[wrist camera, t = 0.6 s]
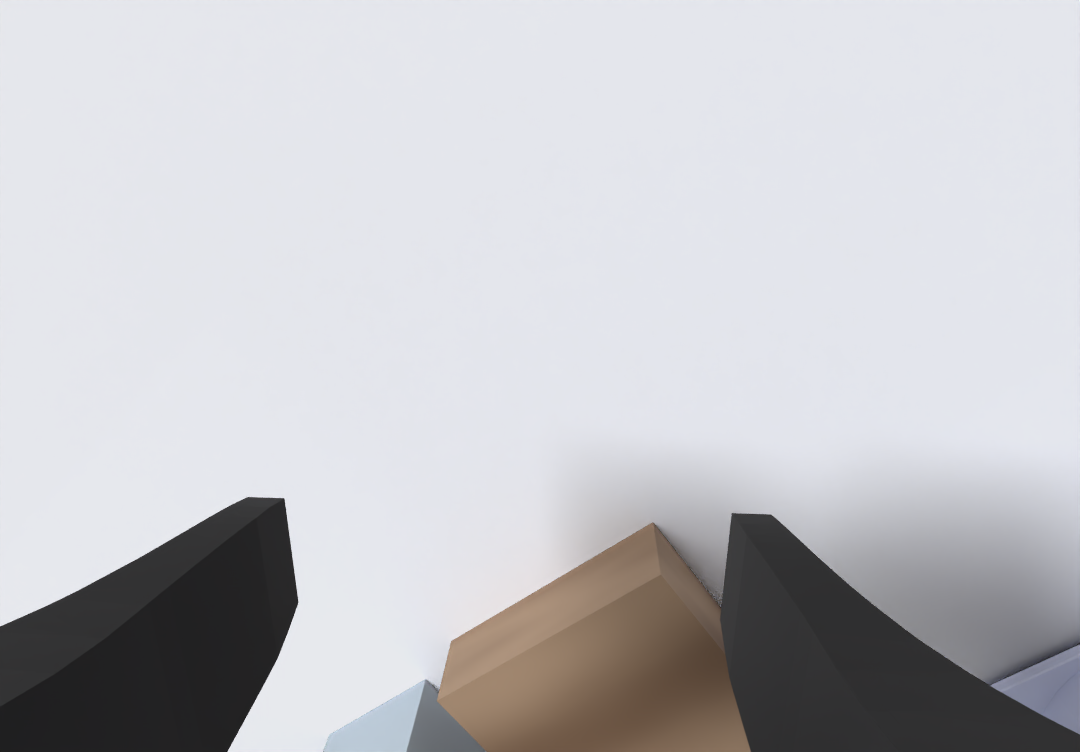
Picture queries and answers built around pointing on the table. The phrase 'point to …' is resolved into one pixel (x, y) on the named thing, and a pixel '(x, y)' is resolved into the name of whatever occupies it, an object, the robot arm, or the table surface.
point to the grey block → (405, 727)
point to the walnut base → (601, 662)
